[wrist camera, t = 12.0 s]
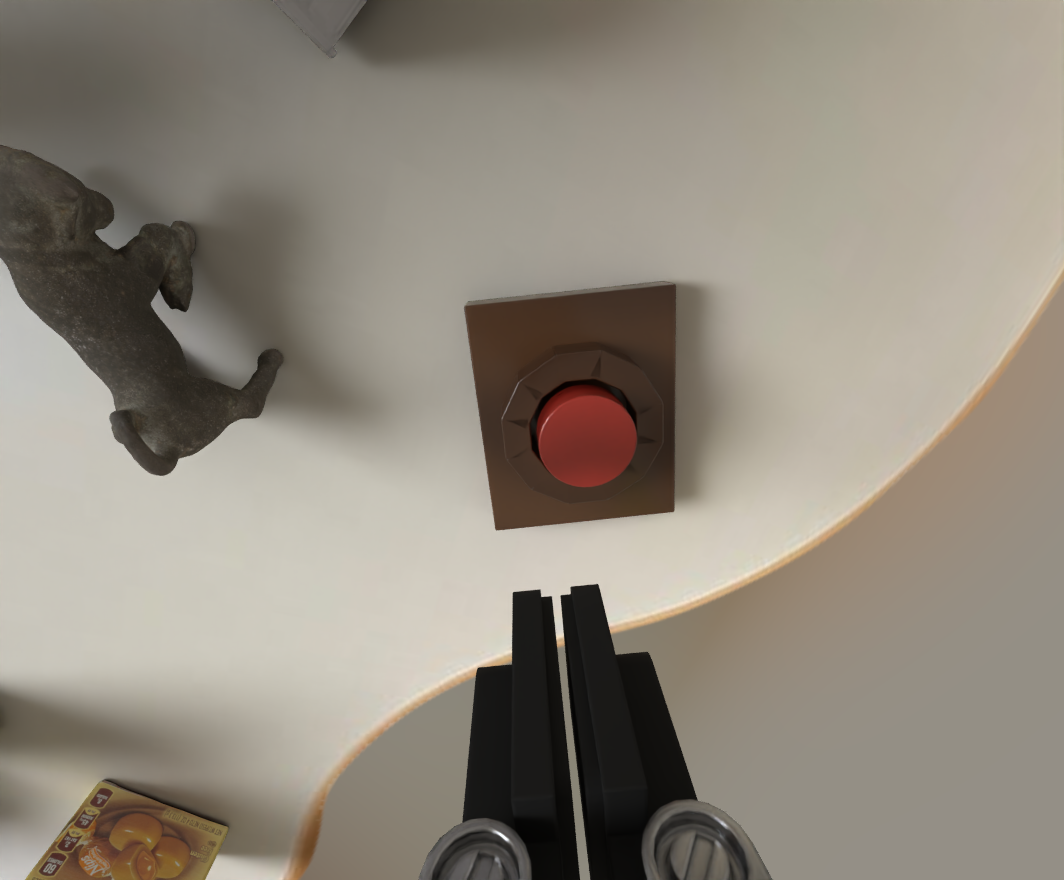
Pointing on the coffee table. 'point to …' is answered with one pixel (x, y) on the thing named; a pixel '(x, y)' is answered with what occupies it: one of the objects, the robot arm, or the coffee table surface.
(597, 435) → the button
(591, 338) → the switch block
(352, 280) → the coffee table surface
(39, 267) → the dog figurine
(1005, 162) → the coffee table surface
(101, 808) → the candy box
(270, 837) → the coffee table surface
